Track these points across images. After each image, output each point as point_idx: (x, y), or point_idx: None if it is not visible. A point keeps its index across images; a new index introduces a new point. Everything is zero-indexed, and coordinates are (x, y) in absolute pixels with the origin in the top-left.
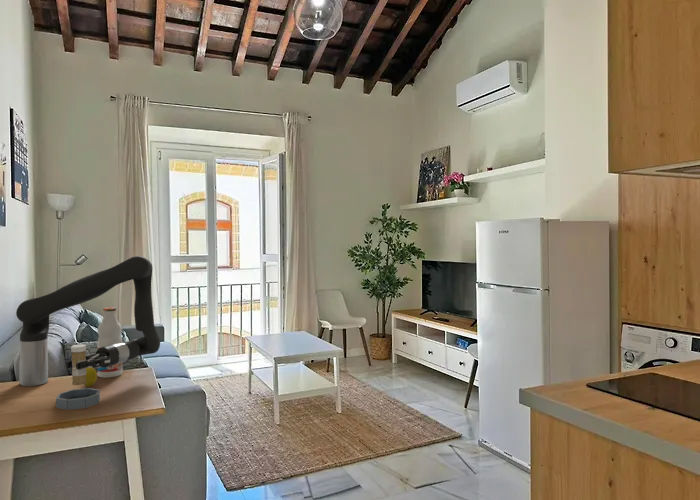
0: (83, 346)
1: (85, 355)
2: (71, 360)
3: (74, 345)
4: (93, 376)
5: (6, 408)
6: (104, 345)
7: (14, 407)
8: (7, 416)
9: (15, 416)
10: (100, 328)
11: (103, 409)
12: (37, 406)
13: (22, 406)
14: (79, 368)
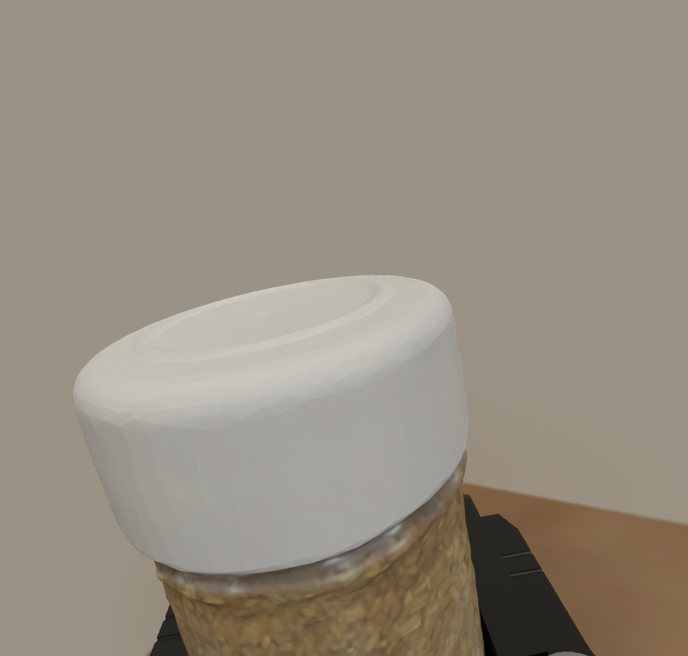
0: (91, 360)
1: (191, 653)
2: (502, 562)
3: (365, 282)
4: None
5: (682, 527)
6: None
7: (682, 556)
8: (507, 496)
9: (479, 513)
10: None
11: None
12: (617, 651)
13: (682, 591)
14: None
